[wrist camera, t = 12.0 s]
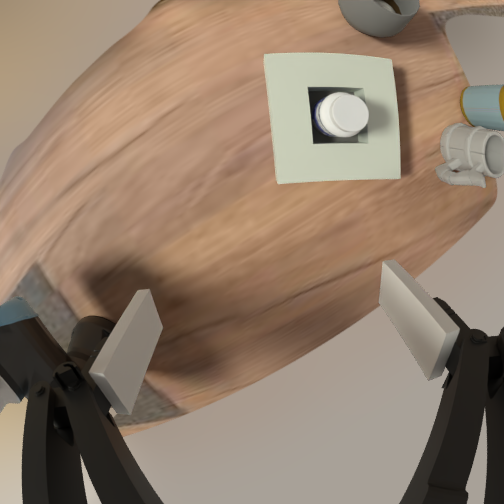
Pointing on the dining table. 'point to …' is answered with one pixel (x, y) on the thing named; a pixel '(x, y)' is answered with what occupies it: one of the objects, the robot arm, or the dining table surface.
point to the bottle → (484, 106)
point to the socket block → (317, 144)
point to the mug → (470, 155)
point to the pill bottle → (340, 115)
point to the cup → (379, 15)
